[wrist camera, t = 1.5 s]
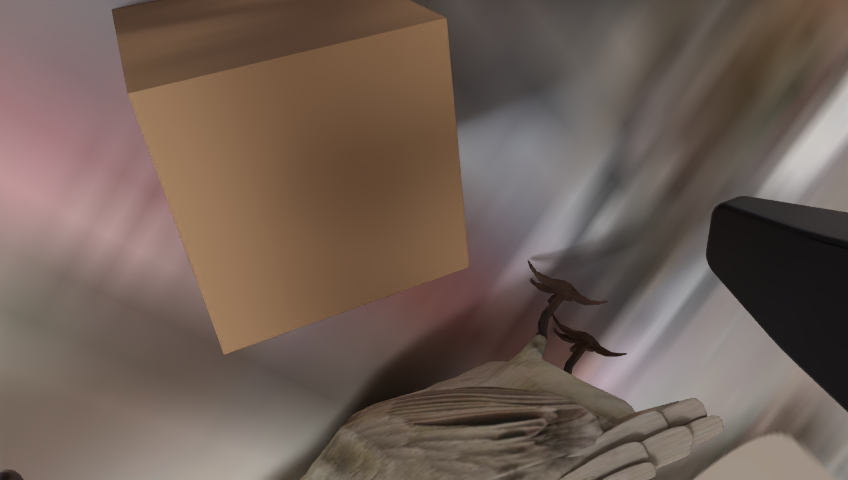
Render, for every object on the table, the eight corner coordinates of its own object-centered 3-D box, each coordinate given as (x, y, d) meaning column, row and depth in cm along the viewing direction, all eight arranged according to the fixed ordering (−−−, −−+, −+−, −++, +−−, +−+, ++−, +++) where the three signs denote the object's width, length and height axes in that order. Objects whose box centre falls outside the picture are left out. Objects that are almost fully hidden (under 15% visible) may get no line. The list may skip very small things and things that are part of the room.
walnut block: (183, 211, 17) (223, 354, 12) (111, 9, 14) (127, 93, 10) (368, 157, 18) (469, 267, 14) (335, -37, 16) (446, 17, 11)
